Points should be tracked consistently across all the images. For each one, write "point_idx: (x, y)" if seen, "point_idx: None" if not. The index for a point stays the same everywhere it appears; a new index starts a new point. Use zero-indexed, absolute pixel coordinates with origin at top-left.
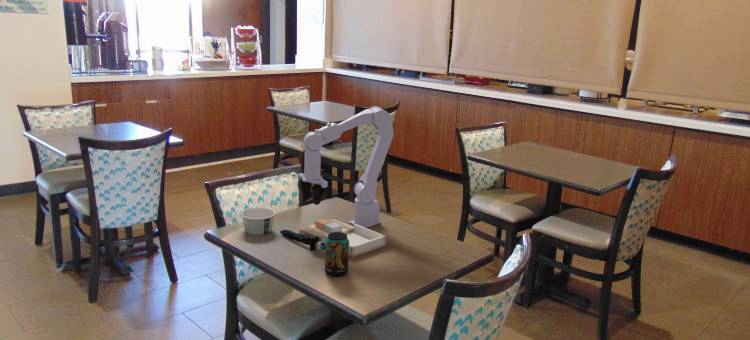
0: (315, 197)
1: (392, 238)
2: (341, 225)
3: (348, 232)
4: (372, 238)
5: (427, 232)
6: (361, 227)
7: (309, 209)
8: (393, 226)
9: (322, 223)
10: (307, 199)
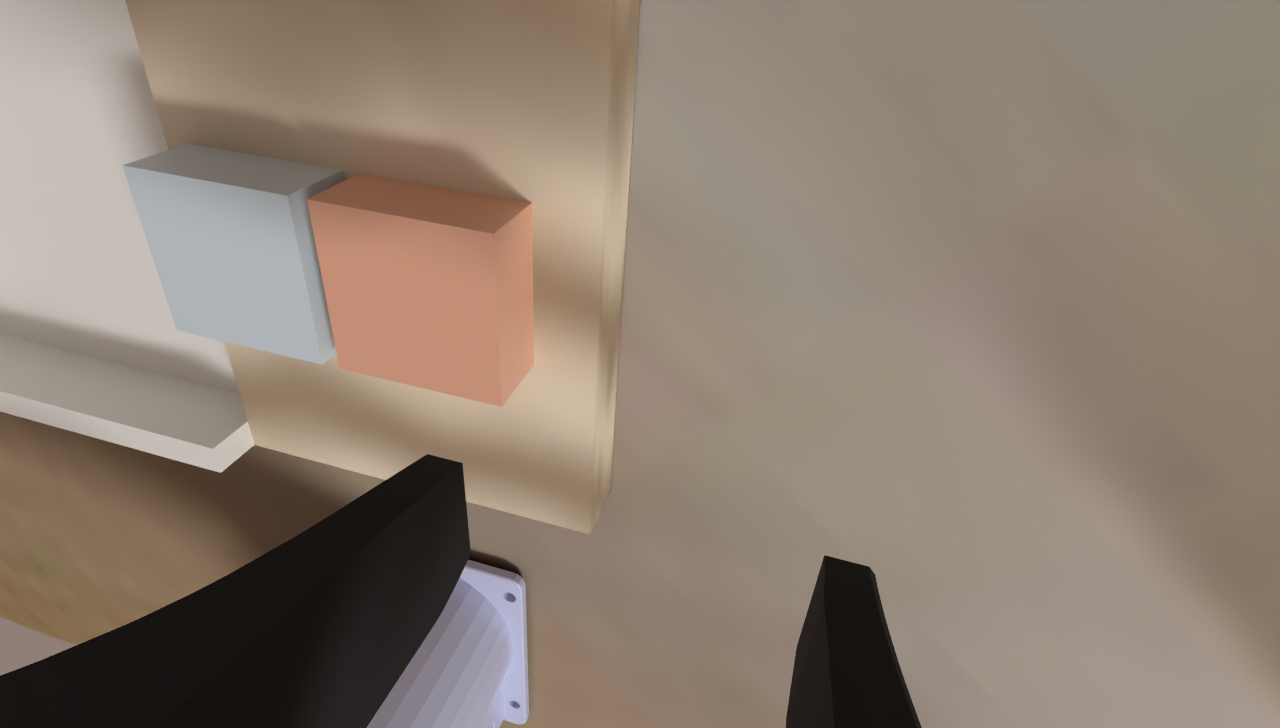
0: (247, 567)
1: (90, 471)
2: (184, 325)
3: None
4: (41, 350)
5: None
6: (110, 422)
7: (1174, 719)
8: None
9: (345, 220)
10: (804, 622)
